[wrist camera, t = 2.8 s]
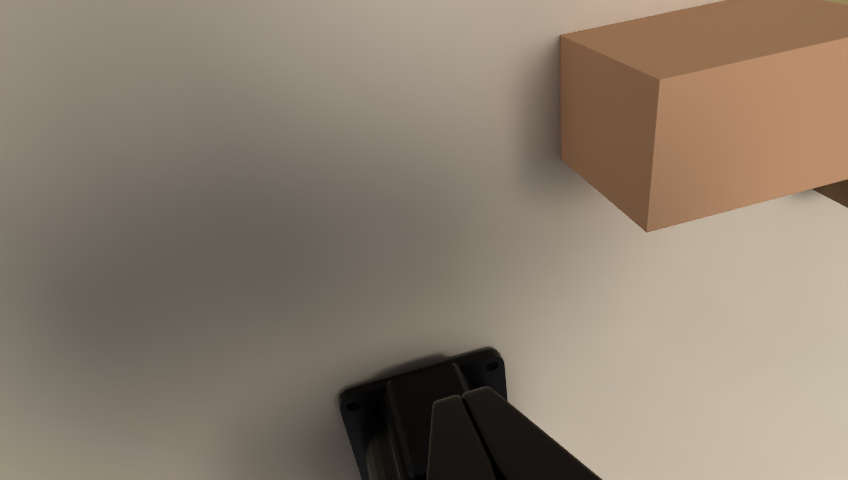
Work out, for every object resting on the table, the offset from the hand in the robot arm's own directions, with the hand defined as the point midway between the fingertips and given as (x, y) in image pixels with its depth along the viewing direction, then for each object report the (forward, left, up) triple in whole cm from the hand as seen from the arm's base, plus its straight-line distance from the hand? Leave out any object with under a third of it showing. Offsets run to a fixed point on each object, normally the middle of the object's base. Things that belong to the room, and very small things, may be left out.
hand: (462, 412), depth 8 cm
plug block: (0, -10, -11) cm, 15 cm away
